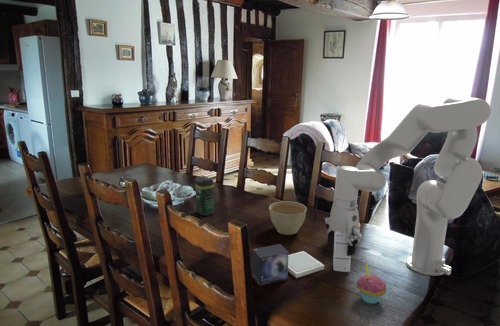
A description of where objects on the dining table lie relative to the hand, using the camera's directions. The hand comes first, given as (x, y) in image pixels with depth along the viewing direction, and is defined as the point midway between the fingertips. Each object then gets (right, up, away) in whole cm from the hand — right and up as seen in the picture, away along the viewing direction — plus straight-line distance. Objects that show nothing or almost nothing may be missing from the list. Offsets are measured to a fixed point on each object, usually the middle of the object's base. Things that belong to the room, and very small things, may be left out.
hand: (340, 248), depth 123 cm
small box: (-25, -9, -5) cm, 27 cm away
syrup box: (+1, -7, +2) cm, 8 cm away
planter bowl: (-15, 0, +32) cm, 36 cm away
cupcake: (+5, -11, -16) cm, 20 cm away
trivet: (-14, -7, +3) cm, 16 cm away
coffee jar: (-54, +5, +52) cm, 76 cm away
